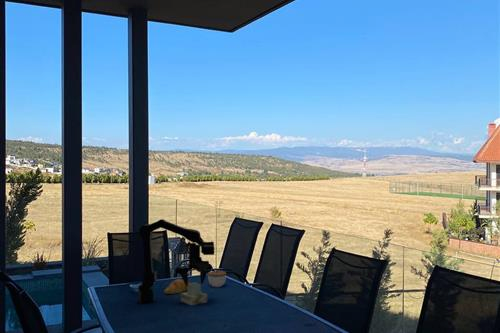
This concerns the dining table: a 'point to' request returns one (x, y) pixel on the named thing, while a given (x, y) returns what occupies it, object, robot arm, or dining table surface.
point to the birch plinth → (193, 298)
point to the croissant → (176, 287)
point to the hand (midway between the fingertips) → (194, 285)
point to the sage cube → (194, 289)
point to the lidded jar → (217, 278)
